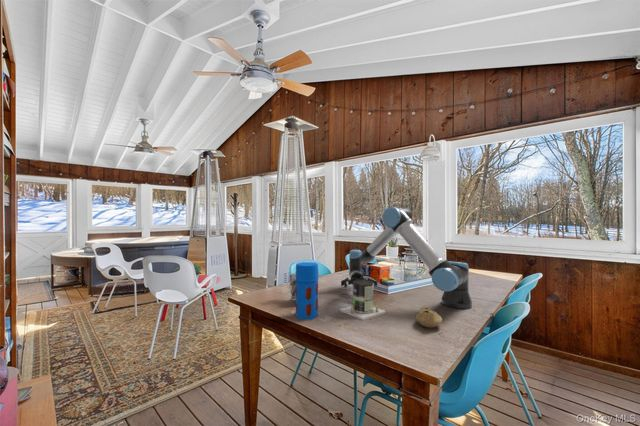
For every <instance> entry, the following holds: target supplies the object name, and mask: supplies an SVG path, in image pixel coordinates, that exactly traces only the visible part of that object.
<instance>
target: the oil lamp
mask: <svg viewBox="0 0 640 426" xmlns="http://www.w3.org/2000/svg"><path fill="white" fill-rule="evenodd" d="M415 320H416V321H417V322H418V323H419V324H420V325H421V326H422V327H426V328H431V329H432V328H436V327H438V325H440V324H441V323H442V322H443V318H442V316H441V315H439V314H438V313H437V312H436V311H435V310H432V309H431V308H430V307H424V306H423V307H421V309H420V311H419V312H418V313H417V314H416V315H415Z"/></svg>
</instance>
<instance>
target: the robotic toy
mask: <svg viewBox="0 0 640 426" xmlns="http://www.w3.org/2000/svg"><path fill="white" fill-rule="evenodd" d="M287 282H288V283H289V286H288V285H287V288H290V287H291V288H290V294H291V297H290V298H291V300H295V301H296V273H292V274H290V275H289V279H288V281H287Z"/></svg>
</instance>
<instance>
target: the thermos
mask: <svg viewBox="0 0 640 426" xmlns="http://www.w3.org/2000/svg"><path fill="white" fill-rule="evenodd" d="M295 274H296V300H295V314H296V315H295V317H296V318H297V319H299V318H300V319H299V320H303V319H310V320H314V318H315V319H317V318H318V316H319V264H318V263H316V262H312V261H310V262H309V261H307V262H306V261H305V262H298V263H296V264H295ZM316 317H317V318H316Z"/></svg>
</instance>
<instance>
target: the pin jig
mask: <svg viewBox="0 0 640 426" xmlns="http://www.w3.org/2000/svg"><path fill="white" fill-rule="evenodd" d="M339 312H341V313H344V314H347V315H349V316H352V317H353V318H356V319H359V320H361V321H366V320H368V319H372V318H375V317H377V316H381V315H384V314H386V310H384V309H381V308H379V305H377V304H376V305H375V306H373V311H372V312H370V313H358V312H355V311H354V307H353V305H350V306H347V307H343V308H340V309H339Z"/></svg>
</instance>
